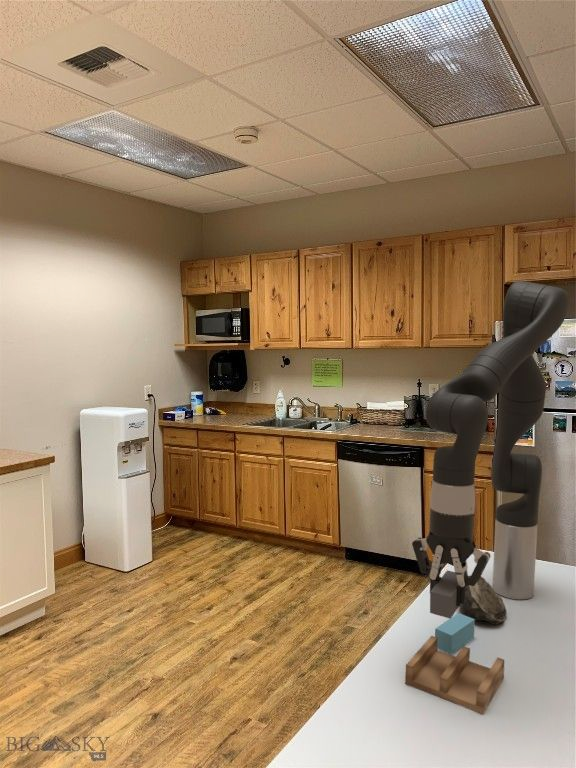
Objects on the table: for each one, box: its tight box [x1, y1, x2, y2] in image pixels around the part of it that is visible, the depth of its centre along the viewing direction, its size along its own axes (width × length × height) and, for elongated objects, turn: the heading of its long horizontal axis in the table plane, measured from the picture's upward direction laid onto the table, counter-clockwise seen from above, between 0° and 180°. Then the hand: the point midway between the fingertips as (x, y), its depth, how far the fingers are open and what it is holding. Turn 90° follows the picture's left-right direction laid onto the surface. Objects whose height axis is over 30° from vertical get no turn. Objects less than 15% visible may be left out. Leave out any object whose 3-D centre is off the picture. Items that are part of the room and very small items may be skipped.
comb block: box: [404, 635, 505, 715], centre depth 103 cm, size 12×14×4 cm
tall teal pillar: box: [434, 612, 476, 655], centre depth 116 cm, size 9×4×4 cm, turn 135°
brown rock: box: [459, 576, 508, 625], centre depth 126 cm, size 11×9×10 cm
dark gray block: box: [429, 570, 459, 619], centre depth 103 cm, size 9×4×4 cm, turn 146°
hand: (448, 601), depth 103 cm, fingers closed on dark gray block, 3 cm apart
